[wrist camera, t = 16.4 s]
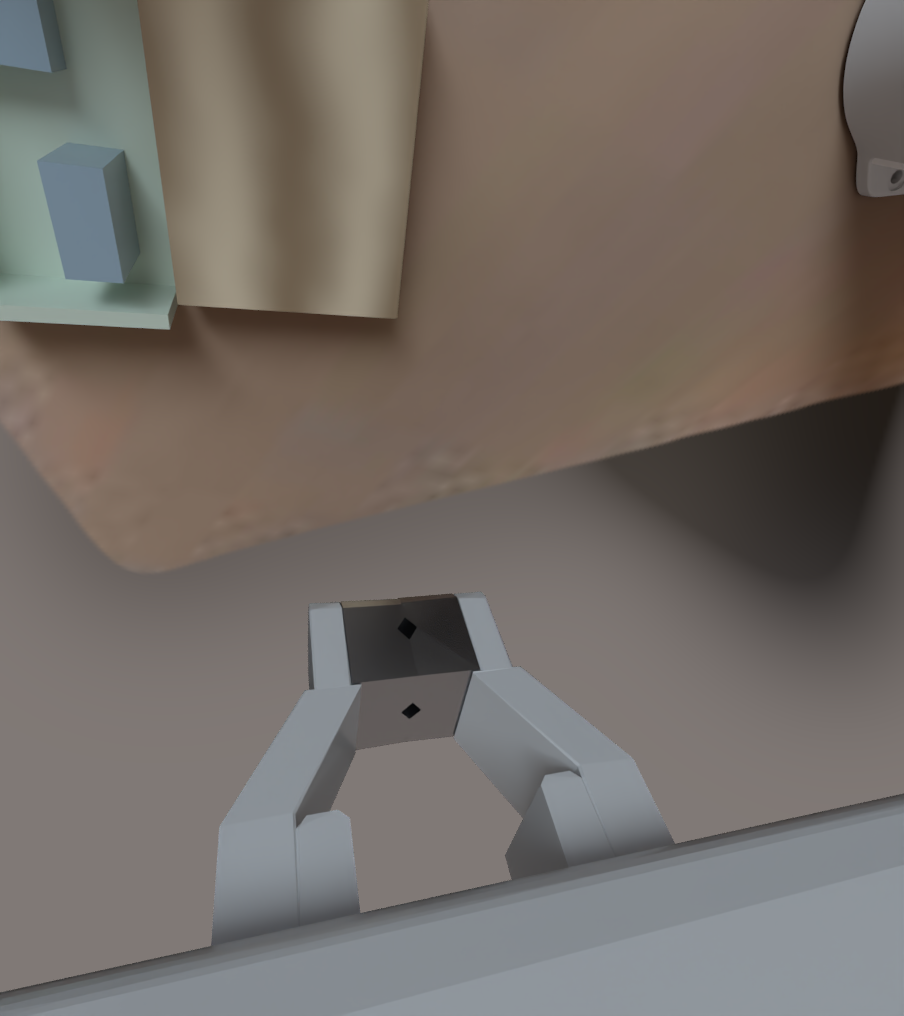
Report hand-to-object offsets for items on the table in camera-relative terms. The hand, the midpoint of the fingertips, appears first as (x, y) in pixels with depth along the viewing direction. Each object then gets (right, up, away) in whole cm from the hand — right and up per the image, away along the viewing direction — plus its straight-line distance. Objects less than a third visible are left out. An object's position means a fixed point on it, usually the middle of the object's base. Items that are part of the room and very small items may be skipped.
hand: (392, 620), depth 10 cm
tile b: (-15, +17, +19) cm, 29 cm away
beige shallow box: (-8, +22, +21) cm, 31 cm away
